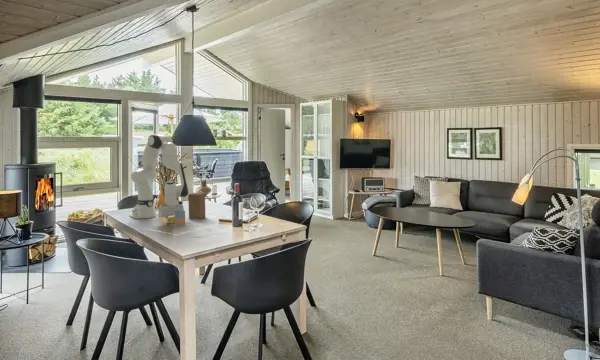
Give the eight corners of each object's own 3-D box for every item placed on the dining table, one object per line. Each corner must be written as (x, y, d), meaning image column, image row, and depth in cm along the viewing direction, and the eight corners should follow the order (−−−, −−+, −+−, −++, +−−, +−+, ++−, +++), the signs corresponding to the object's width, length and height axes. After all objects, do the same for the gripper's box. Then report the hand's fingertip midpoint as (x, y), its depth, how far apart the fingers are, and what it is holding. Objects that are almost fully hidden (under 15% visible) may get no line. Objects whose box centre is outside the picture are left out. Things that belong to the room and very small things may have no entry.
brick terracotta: (175, 224, 271) (175, 217, 271) (180, 223, 275) (180, 216, 275) (179, 225, 269) (179, 218, 268) (185, 224, 273) (185, 217, 272)
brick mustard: (166, 223, 278) (166, 217, 278) (172, 222, 282) (172, 215, 282) (171, 224, 276) (170, 217, 275) (176, 223, 280) (176, 216, 279)
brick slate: (179, 218, 268) (179, 211, 268) (175, 217, 271) (174, 211, 270) (185, 217, 272) (184, 210, 272) (180, 216, 275) (180, 210, 274)
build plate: (168, 226, 270) (168, 224, 270) (181, 222, 280) (181, 221, 280) (179, 228, 264) (179, 227, 264) (192, 224, 274) (192, 223, 274)
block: (200, 219, 291) (199, 194, 289) (188, 219, 293) (187, 194, 291) (206, 217, 301) (205, 192, 299) (194, 216, 303) (193, 192, 301)
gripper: (161, 205, 267) (162, 224, 268) (184, 201, 284) (185, 219, 285) (156, 204, 270) (157, 223, 272) (179, 200, 287) (179, 218, 289)
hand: (171, 221), depth 279 cm, fingers closed on brick mustard, 5 cm apart
